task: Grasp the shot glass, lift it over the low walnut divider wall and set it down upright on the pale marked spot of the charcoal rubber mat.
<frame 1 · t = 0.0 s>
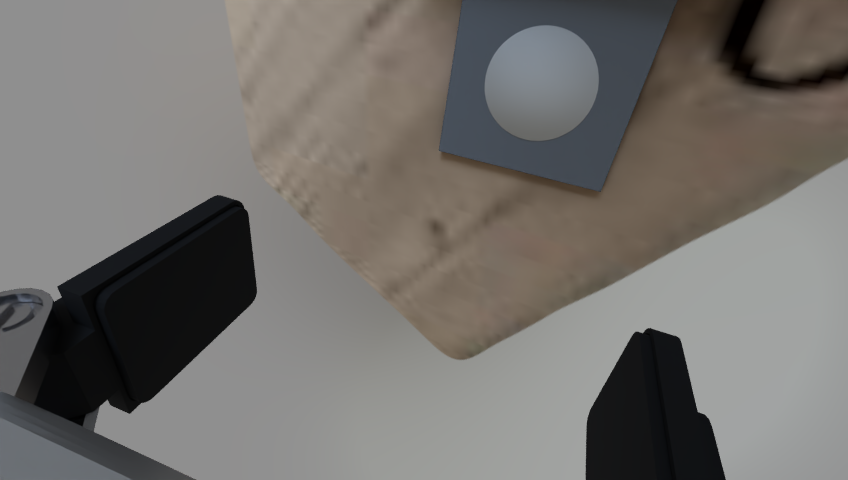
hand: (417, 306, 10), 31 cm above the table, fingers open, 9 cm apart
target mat: (540, 84, 36), on the table
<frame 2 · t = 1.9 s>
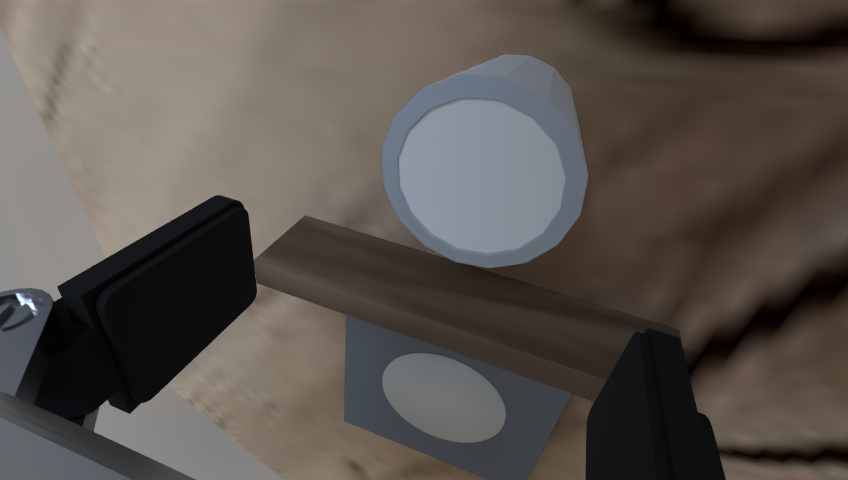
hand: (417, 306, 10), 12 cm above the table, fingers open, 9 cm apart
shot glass: (511, 118, 20), on the table
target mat: (445, 388, 31), on the table
divider wall: (472, 278, 25), on the table
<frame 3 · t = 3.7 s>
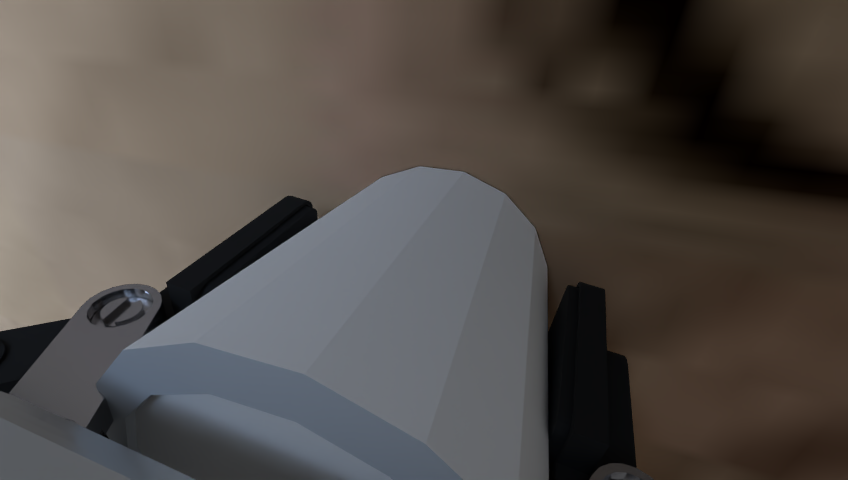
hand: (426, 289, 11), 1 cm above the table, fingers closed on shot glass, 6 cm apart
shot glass: (441, 260, 12), on the table, touching gripper
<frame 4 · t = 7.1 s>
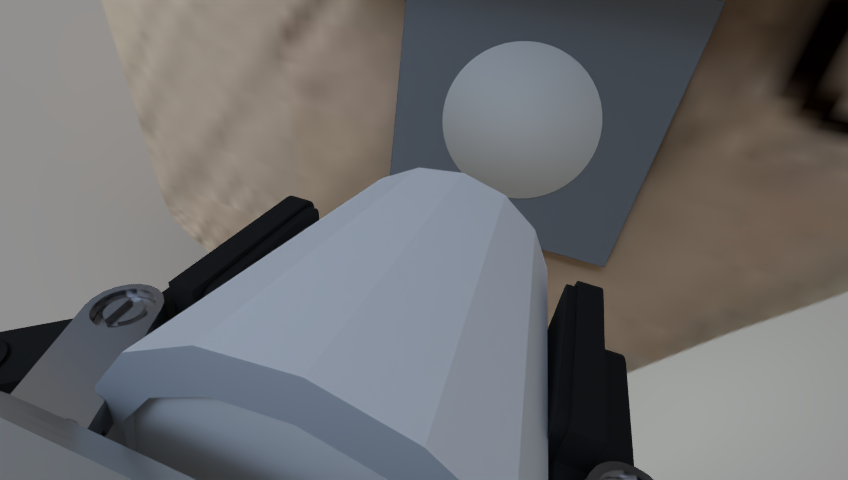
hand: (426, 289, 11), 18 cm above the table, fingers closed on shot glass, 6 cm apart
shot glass: (441, 262, 12), point 17 cm above the table, touching gripper
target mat: (520, 121, 26), on the table
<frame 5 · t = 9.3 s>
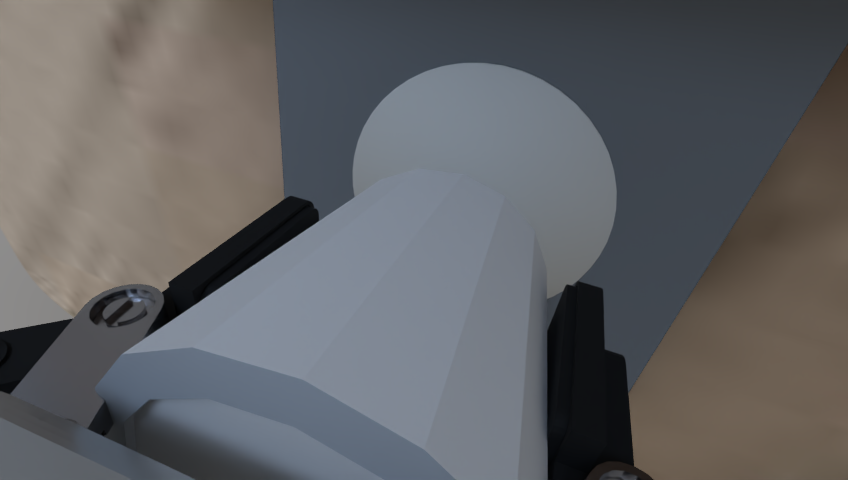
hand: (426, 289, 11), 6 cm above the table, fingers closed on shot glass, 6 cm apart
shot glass: (441, 262, 12), point 5 cm above the table, touching gripper
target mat: (479, 190, 16), on the table
when the fingers open (3 cm above the table, at t = 10.8 s): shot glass drops 1 cm, resting on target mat.
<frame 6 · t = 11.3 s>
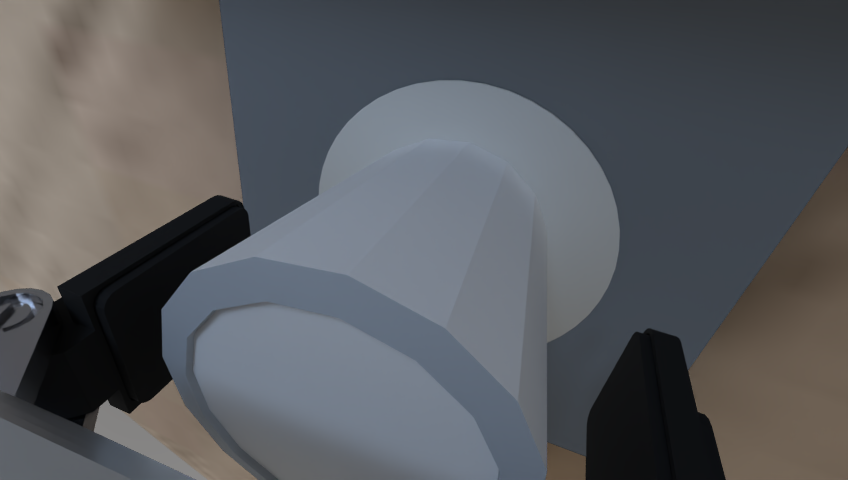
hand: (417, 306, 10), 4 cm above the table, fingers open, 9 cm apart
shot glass: (449, 228, 13), point 1 cm above the table, touching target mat
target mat: (462, 222, 14), on the table
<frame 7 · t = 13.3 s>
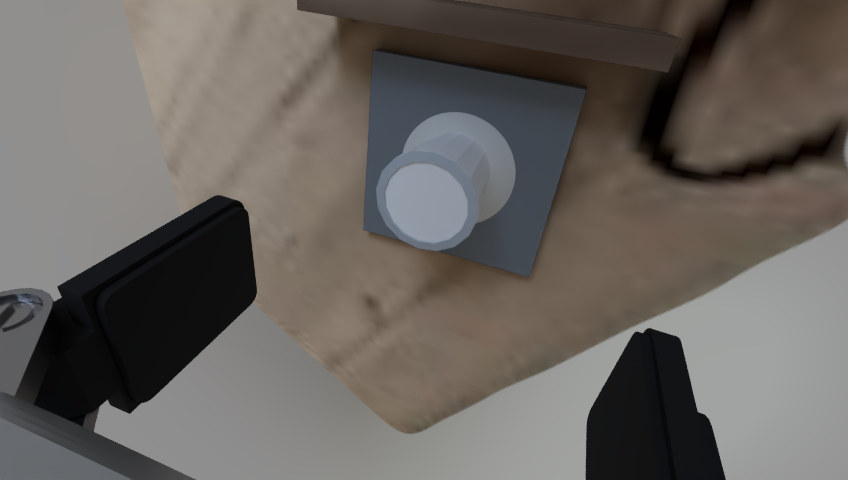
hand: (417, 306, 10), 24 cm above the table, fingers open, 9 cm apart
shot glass: (454, 167, 33), point 1 cm above the table, touching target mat
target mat: (459, 167, 34), on the table
divider wall: (485, 19, 29), on the table
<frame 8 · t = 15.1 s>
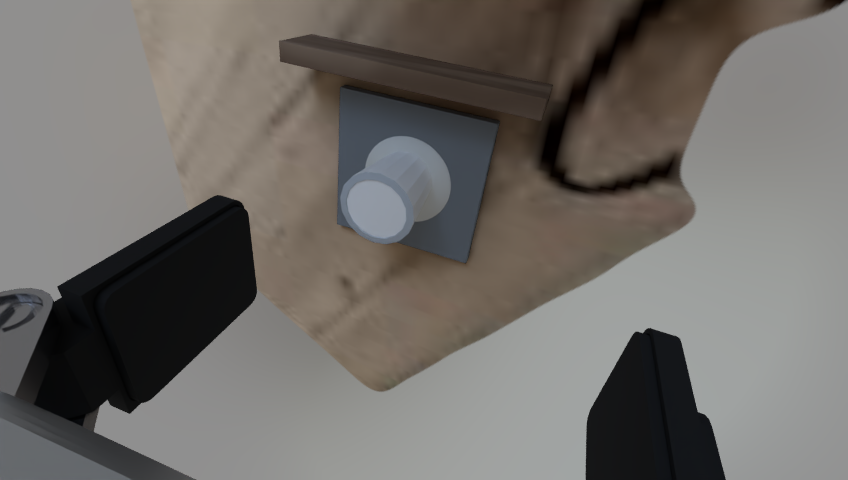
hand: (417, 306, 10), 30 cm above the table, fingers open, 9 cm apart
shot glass: (405, 177, 43), point 1 cm above the table, touching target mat
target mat: (410, 176, 43), on the table
divider wall: (423, 67, 38), on the table
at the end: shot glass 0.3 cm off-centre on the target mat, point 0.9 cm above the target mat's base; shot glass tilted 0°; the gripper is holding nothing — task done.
